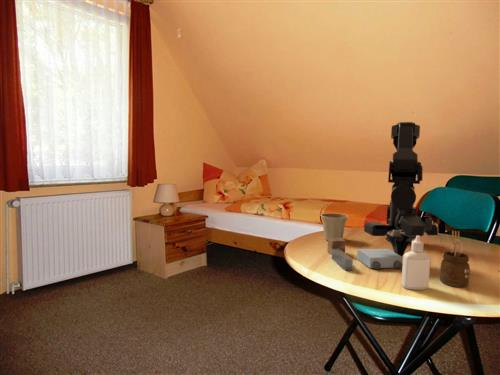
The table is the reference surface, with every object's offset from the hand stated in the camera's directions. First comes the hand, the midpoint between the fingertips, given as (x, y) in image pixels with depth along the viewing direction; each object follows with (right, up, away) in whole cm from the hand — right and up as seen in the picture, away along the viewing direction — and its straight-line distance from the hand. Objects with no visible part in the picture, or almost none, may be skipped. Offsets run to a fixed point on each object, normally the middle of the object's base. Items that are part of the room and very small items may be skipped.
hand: (398, 258), depth 97 cm
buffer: (-16, -1, -2) cm, 16 cm away
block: (-15, 0, +9) cm, 18 cm away
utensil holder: (+7, -3, -14) cm, 16 cm away
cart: (-6, -1, 0) cm, 6 cm away
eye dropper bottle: (-4, -3, -17) cm, 18 cm away
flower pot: (-12, +1, +26) cm, 29 cm away
